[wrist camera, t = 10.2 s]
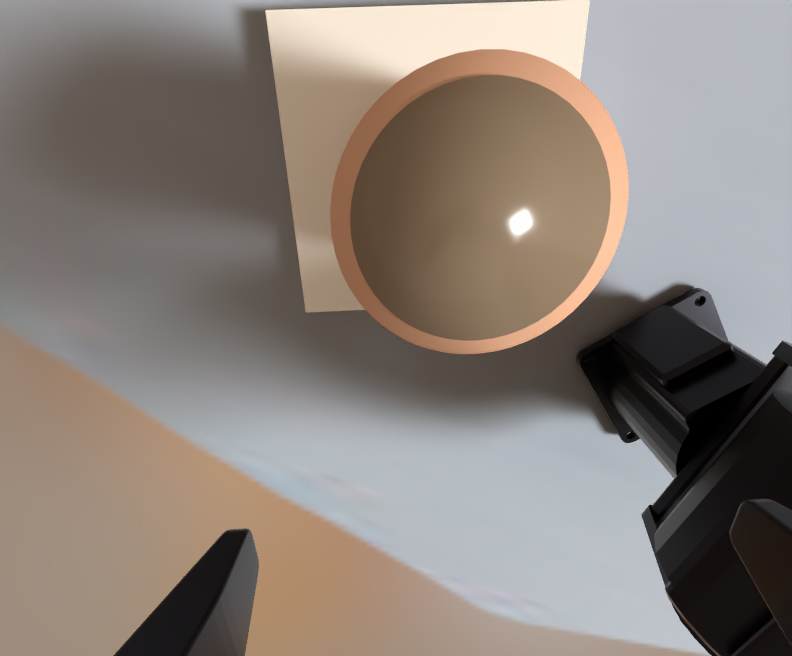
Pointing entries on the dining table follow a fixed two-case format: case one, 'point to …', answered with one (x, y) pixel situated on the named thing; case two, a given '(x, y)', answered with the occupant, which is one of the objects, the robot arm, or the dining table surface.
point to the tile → (380, 92)
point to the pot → (479, 201)
